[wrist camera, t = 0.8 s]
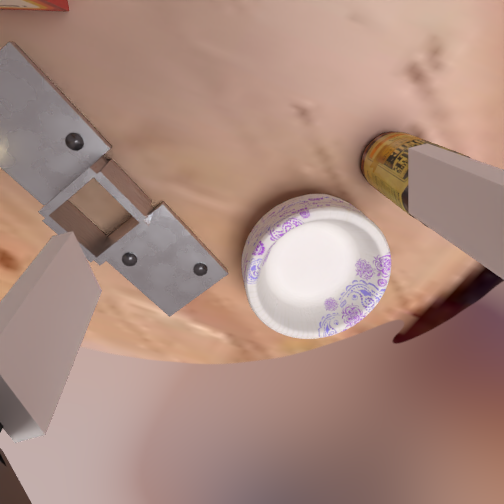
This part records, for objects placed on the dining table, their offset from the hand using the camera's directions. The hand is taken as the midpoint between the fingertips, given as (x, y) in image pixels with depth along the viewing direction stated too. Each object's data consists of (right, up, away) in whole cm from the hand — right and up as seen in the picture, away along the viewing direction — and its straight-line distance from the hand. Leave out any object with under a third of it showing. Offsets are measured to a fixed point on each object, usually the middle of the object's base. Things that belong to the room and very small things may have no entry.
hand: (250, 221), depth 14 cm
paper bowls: (+6, -1, +30) cm, 30 cm away
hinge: (-15, +4, +24) cm, 29 cm away
